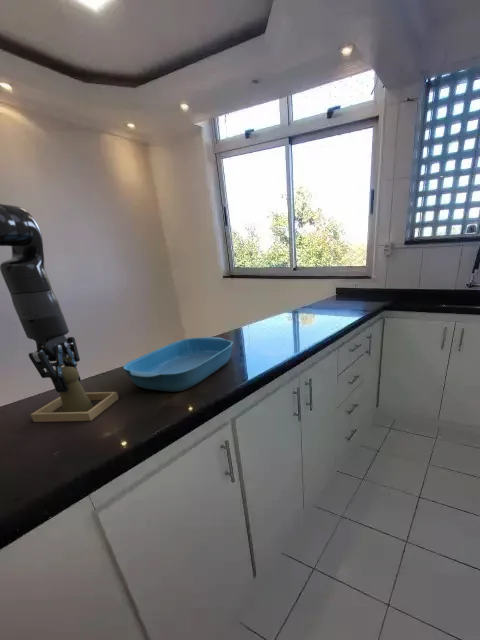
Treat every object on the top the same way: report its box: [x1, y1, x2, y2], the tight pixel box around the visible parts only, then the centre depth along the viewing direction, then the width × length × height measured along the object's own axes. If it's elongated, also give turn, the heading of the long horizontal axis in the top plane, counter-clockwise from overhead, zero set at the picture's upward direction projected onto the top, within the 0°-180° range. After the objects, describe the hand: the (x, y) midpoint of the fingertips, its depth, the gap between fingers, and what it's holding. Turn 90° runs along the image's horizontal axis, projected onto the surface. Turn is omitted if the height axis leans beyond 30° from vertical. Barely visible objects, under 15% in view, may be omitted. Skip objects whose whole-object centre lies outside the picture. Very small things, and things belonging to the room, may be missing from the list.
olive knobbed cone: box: [54, 366, 94, 412], centre depth 74 cm, size 6×6×11 cm
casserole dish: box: [122, 336, 234, 393], centre depth 96 cm, size 37×22×7 cm, turn 163°
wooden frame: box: [29, 391, 119, 423], centre depth 76 cm, size 14×12×3 cm
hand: (69, 386), depth 73 cm, fingers closed on olive knobbed cone, 5 cm apart
